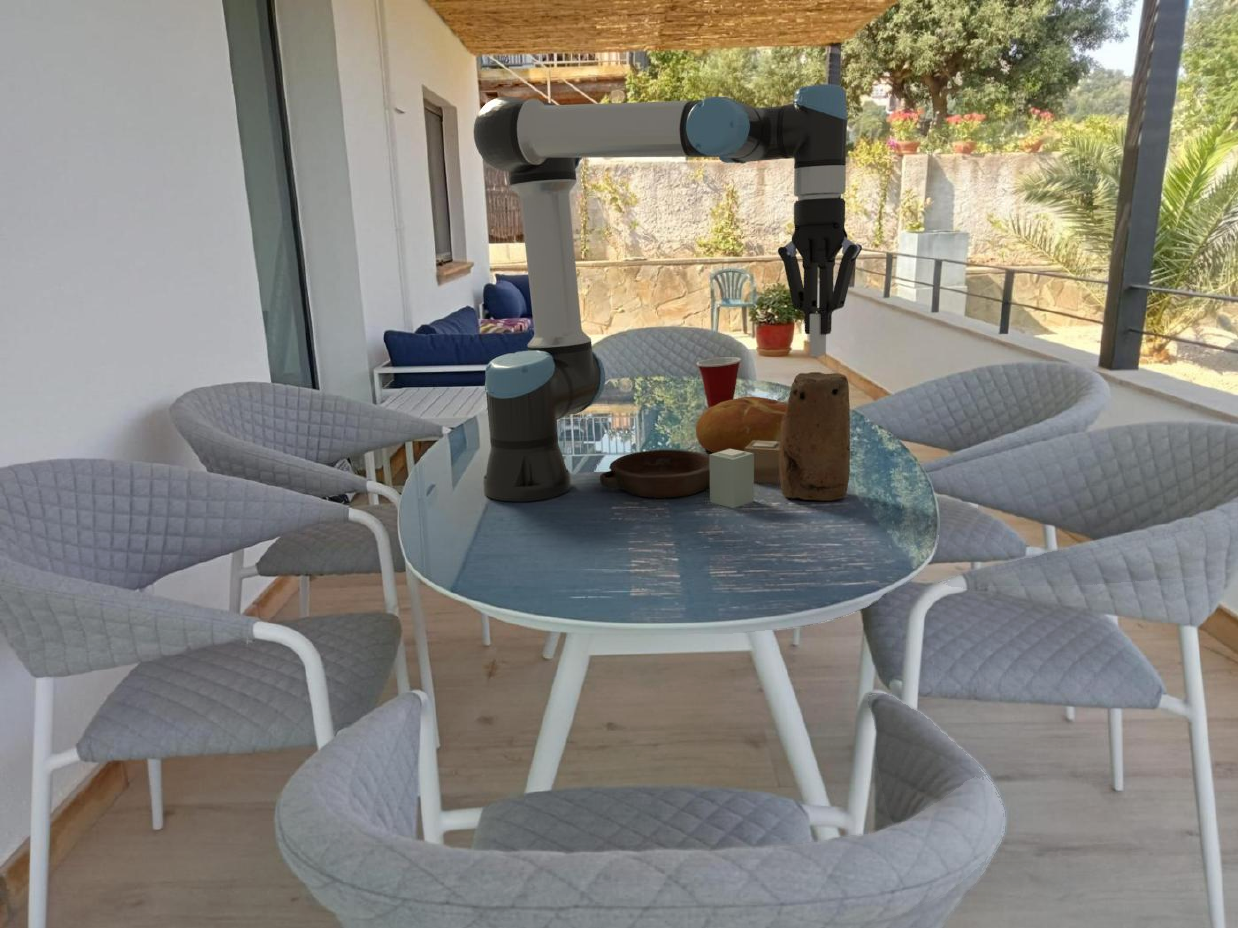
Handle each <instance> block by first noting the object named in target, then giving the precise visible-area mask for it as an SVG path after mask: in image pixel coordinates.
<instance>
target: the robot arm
mask: <svg viewBox="0 0 1238 928" xmlns="http://www.w3.org/2000/svg"><path fill="white" fill-rule="evenodd" d="M847 106H848V105H847V91H846V89H845V88H844V87H842V86H841V85H840V84H839V85H838V84H832V83H831V84H830V83H829V84H826V83H825V84H824V83H823V84H814V85H808V86H802V87H799V88H798V89H796V90H795V92H794V99H793V103H789V104H786V105H778V106H777V105H776V106H765V107H757V106H753V105H749V104H746V103H742V102H739V101H737V100H735V99H732V98H730V97H727V96H708V97H705V98H703V99H699V100H672V101H671V100H668V101H667V100H665V101H664V100H663V101H640V102H637V101H636V102H611V103H580V104H577V103H576V104H554V103H552V102H547V101H545V102H542V101H541V100H540V99H537V98H520V97H516V96H499V97H497V98H494V99H491V100H489V101H488V102H487V103H486V104H485V105H484V106H483V107H482V108H481V109H480V110H479V112H478V113H477V115H476V118H475V121H474V124H473V141H474V143H475V147H476V150H477V151H478V153H479V155H480V157H481V158H482V159H483V160H484V161H485V162H486V163H487V164H488V165H490V166H491V167H492V168H494V169H496V170H498V171H499V170H500V171H502V172H506V173H508V179H509V188H510V189H511V191H513V192H514V193H515V194H516V195H517V196H518V197H519V198H520V199H519V200H520V202H519V203H520V208H521V209H520V210H521V219H522V228H523V237H524V246H525V247H524V248H525V255H526V265H527V266H526V267H527V274H528V275H527V276H528V284H529V293H530V294H529V295H530V303H531V313H532V322H533V331H534V335H533V337H532V338H531V340H530V341H529V342H528V343H527V350H521V351H516V352H514V353H513V352H512V353H505V354H503V355H500V356H497V357H495V358H494V359H491V360H490V361H489V362H488V363H487V365H486V368H485V382H484V389H485V393H486V394H485V395H486V405H487V417H488V418H487V419H488V427H489V440H490V441H489V442H490V452H489V455H488V460H487V465H486V466H487V467H486V473H485V475H484V477H483V482H482V483H483V484H482V485H483V493H484V495H485V496H486V497H488V498H490V499H494V500H495V501H496V500H497V501H502V502H515V503H516V502H517V503H518V502H532V501H533V502H534V501H542V500H547V499H553V498H554V497H557V496H560V495H563V494H565V493H567V492H568V491H569V490H571V487H572V483H571V473H570V471H569V470H568V468H567V466H566V463H565V459H564V456H563V454H562V451H561V448H560V445H559V434H558V433H559V432H558V420H561V419H563V418H566V417H568V416H571V415H576V414H578V413H581V412H584V411H585V410H587V409H588V408H589V407H591V406H593V405H594V404H595V403H596V402H597V401H598V400H599V398H600V396H602V394H603V392H604V388H605V383H606V371H605V366H604V364H603V362H602V359H601V358H599V357H598V355H597V353H596V352H594V351H593V346H592V345H593V344H592V338H591V337H589V336H588V334H586V333H585V332H584V331H583V328H582V319H581V308H580V296H579V287H578V286H579V285H578V277H577V265H576V263H577V262H576V255H575V253H576V252H575V245H574V234H573V233H574V232H573V223H572V211H571V198H570V192H571V190H572V189H573V188H574V187H575V186H576V185H577V171H576V169H577V168H578V167H579V165H580V162H581V160H583V158H680V157H681V158H685V157H686V158H687V157H689V158H692V157H693V158H718V159H719V161H721V162H723V164H724V163H725V164H741V165H742V164H746V163H750V162H761V161H770V160H771V161H772V160H780V159H792V158H793V169H794V175H793V177H794V178H793V179H794V180H793V196H794V197H797V200H795V202H794V203H793V225H794V226H793V227H794V230H793V234H792V235H791V240H790V242H788V243H786V244H785V245H784V246H780V247H778V249H777V254H778V256H779V258H780V259H781V261H782V262H783V266H784V270H785V275H786V279H787V285H788V289H789V294H790V298H791V305H792V307H793V309H794V310H799V311H802V312H803V314H804V333H805V334H806V335H809V350H808V351H809V355H808V357H814V358H815V357H816V358H818V357H822V356H825V355H827V335H831V333H832V318H833V316H832V314H833V312H834V311H836V310H840V309H842V308H843V307H844V306H845V303H846V298H847V295H848V292H849V291H848V290H849V287H850V283H851V279H852V274H853V271H854V267H855V262H856V259H857V258H858V256H859V255H860V253H861V252H862V250H863V247H862V245H861V244H859V243H854V242H853V241H851V240H850V239H849V238H848V233H847V231H846V228H845V223H846V200H845V198H842V195H844V194H845V193H846V189H847V187H846V183H847V182H846V177H847V170H846V169H847V140H848V139H847V137H848V136H847V135H848V133H847V132H848V121H849V117H848V111H847V109H848V107H847ZM841 249H842V250H841ZM840 251H841V255H842V257H841V260H840V263H839V267H838V270H837V275H836V279H835V285H834V278H835V277H834V274H835V273H834V272H835V271H834V269H835V266H836V257H837V256H838V254H839V252H840ZM797 253H798V254H799V255H800V256H801V261H802V262H801V263H802V264H801V265H802V268H803V278H802V274H801V270H800V265H799V260H798V257H797ZM818 285H819V286H818ZM818 290H819V291H818ZM818 293H819V294H818Z"/></svg>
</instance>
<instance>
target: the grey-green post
mask: <svg viewBox="0 0 1238 928" xmlns="http://www.w3.org/2000/svg"><path fill="white" fill-rule="evenodd" d="M708 456H709V461H710V486H709V502H710V503H711V504H715V505H720V506H723V507H727V508H731V509H736V508H739V507H741V506H744V505H747V504H750V503H753V502H755V482H754V453H750V452H745V451H740V450H735V449H727V450H723V451H720V452H716V453H711V454H709V455H708Z"/></svg>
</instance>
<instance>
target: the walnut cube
mask: <svg viewBox="0 0 1238 928" xmlns="http://www.w3.org/2000/svg"><path fill="white" fill-rule="evenodd" d="M744 451H745V452H750V453H754V483H763V484H764V483H766V484H779V483H780V442H775V441H756V440H753V441H752V442H750V443H749V444H748V445H747V446H746V447H745V448H744Z"/></svg>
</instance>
